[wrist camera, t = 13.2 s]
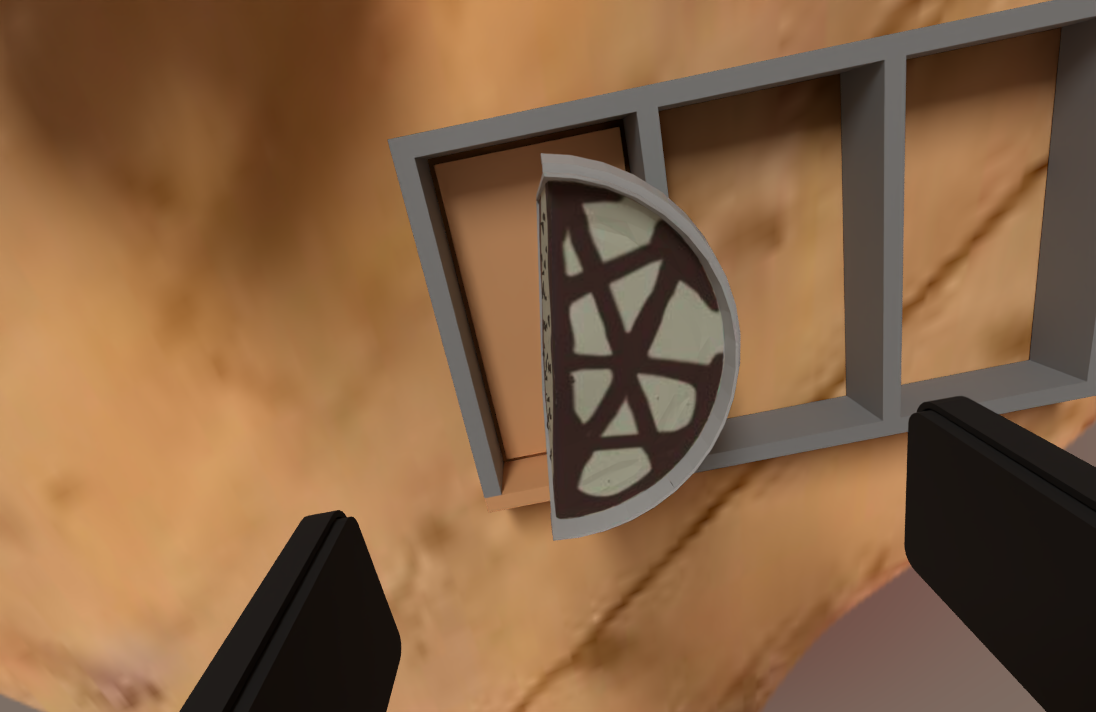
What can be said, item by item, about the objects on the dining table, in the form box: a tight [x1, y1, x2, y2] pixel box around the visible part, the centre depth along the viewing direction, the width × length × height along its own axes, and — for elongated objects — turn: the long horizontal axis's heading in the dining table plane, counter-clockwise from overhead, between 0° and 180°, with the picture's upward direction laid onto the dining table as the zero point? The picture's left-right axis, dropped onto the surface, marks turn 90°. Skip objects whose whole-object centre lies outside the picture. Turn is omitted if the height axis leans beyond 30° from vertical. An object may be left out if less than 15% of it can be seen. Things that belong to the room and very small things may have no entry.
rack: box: [388, 0, 1096, 513], centre depth 24 cm, size 29×17×3 cm, turn 101°
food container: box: [536, 153, 740, 541], centre depth 21 cm, size 12×6×10 cm, turn 1°
